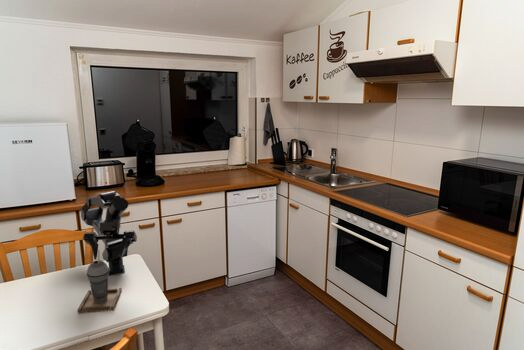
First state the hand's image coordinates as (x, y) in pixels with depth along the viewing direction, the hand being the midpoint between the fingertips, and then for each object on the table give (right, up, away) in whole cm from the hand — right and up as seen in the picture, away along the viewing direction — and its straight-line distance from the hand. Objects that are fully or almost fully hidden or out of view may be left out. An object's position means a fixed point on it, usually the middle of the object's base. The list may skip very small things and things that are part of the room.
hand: (108, 258), depth 135 cm
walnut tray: (-1, -15, -4) cm, 16 cm away
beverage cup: (-1, -15, -4) cm, 15 cm away
